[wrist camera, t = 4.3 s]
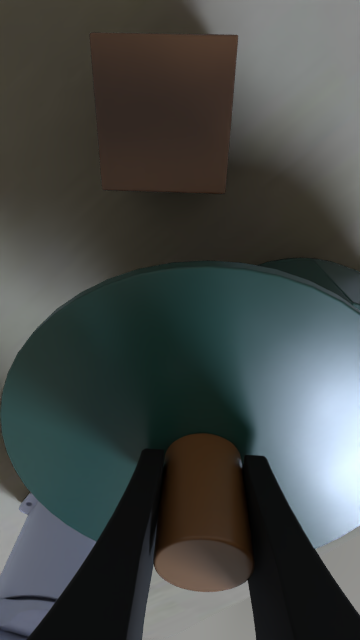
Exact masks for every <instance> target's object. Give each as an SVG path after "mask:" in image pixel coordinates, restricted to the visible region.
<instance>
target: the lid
mask: <svg viewBox="0 0 360 640" xmlns="http://www.w3.org/2000/svg"><path fill="white" fill-rule="evenodd" d="M0 419H1V429H2V436H3V440H4V443H5V447H6V451H7V454H8V456H9V458H10V460H11V462H12V464H13V467H14V469H15V471H16V472H17V474H18V475H19V477H20V478H21V480H22V482H23V483H24V485H25V486H26V487H27V488H28V490H29V491H30V492H31V493H32V494H33V496H34V497H35V498H36V499H37V500H38V501H39V502H40V503H41V504H42V505H43V506H44V507H45V508H46V509H47V510H48V511H50V512H51V513H52V514H53V515H54V516H56V517H57V518H58V519H60V520H61V521H62V522H64V523H65V524H66V525H68V526H69V527H71V528H73V529H74V530H76V531H78V532H79V533H81V534H82V535H84V536H86V537H88V538H90V539H92V540H94V541H96V542H97V540H98V538H99V537H100V535H101V533H102V532H103V530H104V528H105V527H106V525H107V523H108V522H109V520H110V518H111V516H112V515H113V513H114V511H115V509H116V507H117V505H118V503H119V501H120V500H121V498H122V496H123V494H124V492H125V490H126V488H127V486H128V484H129V482H130V479H131V477H132V475H133V473H134V471H135V468H136V466H137V463H138V461H139V458H140V455H141V452H142V450H144V449H145V448H148V449H164V469H163V478H162V487H161V496H160V503H159V512H158V521H157V530H156V539H155V548H154V557H153V562H154V567H155V569H156V571H157V573H158V574H159V575H160V576H161V577H162V578H163V579H164V580H165V581H167V582H169V583H170V584H172V585H175V586H177V587H180V588H183V589H187V590H192V591H200V592H216V591H223V590H228V589H232V588H234V587H237V586H239V585H241V584H243V583H244V582H246V581H247V580H248V579H249V578H250V577H251V575H252V574H253V571H254V567H255V561H254V553H253V546H252V538H251V530H250V523H249V515H248V507H247V500H246V493H245V485H244V477H243V470H242V468H243V463H244V457H245V455H259V456H265V457H266V458H267V460H268V463H269V465H270V467H271V469H272V472H273V474H274V476H275V478H276V480H277V482H278V484H279V486H280V488H281V490H282V492H283V494H284V496H285V498H286V500H287V502H288V504H289V506H290V507H291V509H292V511H293V513H294V515H295V516H296V518H297V520H298V522H299V523H300V525H301V527H302V529H303V530H304V532H305V534H306V536H307V537H308V539H309V541H310V542H311V544H312V545H313V547H314V549H316V548H319V547H321V546H323V545H325V544H328V543H330V542H332V541H334V540H336V539H338V538H340V537H342V536H343V535H345V534H347V533H348V532H350V531H351V530H353V529H355V528H356V527H358V526H359V525H360V310H359V309H357V308H356V307H354V306H353V305H351V304H350V303H349V302H347V301H346V300H344V299H343V298H341V297H340V296H339V295H337V294H335V293H333V292H331V291H329V290H327V289H325V288H323V287H321V286H319V285H317V284H315V283H313V282H311V281H309V280H306V279H303V278H300V277H297V276H294V275H291V274H288V273H286V272H283V271H280V270H277V269H271V268H266V267H261V266H256V265H251V264H246V263H237V262H222V261H191V262H174V263H168V264H162V265H157V266H152V267H146V268H141V269H137V270H134V271H131V272H128V273H125V274H122V275H119V276H116V277H113V278H110V279H107V280H105V281H103V282H101V283H99V284H97V285H95V286H93V287H91V288H89V289H87V290H85V291H83V292H81V293H79V294H78V295H76V296H75V297H74V298H72V299H71V300H69V301H68V302H66V303H65V304H63V305H62V306H60V307H59V308H58V309H56V310H55V311H54V312H53V313H52V314H51V315H50V316H49V317H48V318H47V319H46V320H45V321H44V322H43V323H42V324H41V325H40V326H39V327H38V328H37V329H36V330H35V331H34V332H33V333H32V335H31V336H30V337H29V339H28V340H27V341H26V343H25V344H24V345H23V347H22V348H21V350H20V351H19V352H18V354H17V356H16V358H15V360H14V362H13V364H12V366H11V368H10V370H9V372H8V374H7V378H6V381H5V385H4V388H3V392H2V399H1V410H0Z"/></svg>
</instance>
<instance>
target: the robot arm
mask: <svg viewBox="0 0 360 640" xmlns="http://www.w3.org/2000/svg"><path fill="white" fill-rule="evenodd" d="M163 469H164V449H148V448H145V449H144V450H142V452H141V455H140V458H139V461H138V463H137V466H136V468H135V471H134V473H133V475H132V477H131V479H130V482H129V484H128V486H127V488H126V490H125V492H124V494H123V496H122V498H121V500H120V501H119V503H118V505H117V507H116V509H115V511H114V513H113V515H112V516H111V518H110V520H109V522H108V523H107V525H106V527H105V528H104V530H103V532H102V533H101V535H100V537H99V538H98V540H97V542H96V541H94V540H92V539H90V538H88V537H86V536H84V535H82V534H81V533H79V532H78V531H76V530H74V529H73V528H71V527H69V526H68V525H66V524H65V523H64V522H62V521H61V520H60V519H58V518H57V517H56V516H54V515H53V514H52V513H51V512H50V511H48V510H47V509H46V508H45V507H44V506H43V505H42V504H41V503H40V502H39V501H38V500H37V499H36V498H35V497H34V496H33V494H32V493H31V492H30V494H29V495H28V496H27V497H26V498H25V499H24V501H23V502H22V503H21V505H20V507H19V510H20V511H21V512H23V513H25V514H27V515H28V517H27V519H26V521H25V523H24V525H23V527H22V530H21V532H20V534H19V536H18V538H17V541H16V543H15V545H14V547H13V549H12V551H11V554H10V556H9V558H8V560H7V562H6V565H5V567H4V569H3V571H2V573H1V575H0V640H142V633H143V624H144V617H145V610H146V604H147V598H148V593H149V587H150V581H151V576H152V570H153V564H154V562H153V557H154V548H155V539H156V530H157V521H158V512H159V503H160V496H161V487H162V478H163ZM242 470H243V477H244V485H245V493H246V500H247V507H248V515H249V523H250V530H251V538H252V546H253V553H254V561H255V567H254V571H253V574H252V575H251V577H250V578H249V579H248V584H249V590H250V597H251V603H252V609H253V616H254V623H255V631H256V640H360V615H359V614H358V612H357V611H356V610H355V609H354V607H353V606H352V604H351V603H350V601H349V600H348V598H347V597H346V596H345V594H344V593H343V592H342V590H341V589H340V587H339V586H338V584H337V583H336V581H335V580H334V578H333V577H332V575H331V574H330V572H329V571H328V569H327V568H326V566H325V565H324V563H323V561H322V560H321V558H320V557H319V555H318V553H317V552H316V550H315V549H314V547H313V545H312V544H311V542H310V541H309V539H308V537H307V536H306V534H305V532H304V530H303V529H302V527H301V525H300V523H299V522H298V520H297V518H296V516H295V515H294V513H293V511H292V509H291V507H290V506H289V504H288V502H287V500H286V498H285V496H284V494H283V492H282V490H281V488H280V486H279V484H278V482H277V480H276V478H275V476H274V474H273V472H272V469H271V467H270V465H269V463H268V460H267V458H266V457H265V456H259V455H245V457H244V463H243V468H242Z"/></svg>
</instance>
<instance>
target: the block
mask: <svg viewBox="0 0 360 640" xmlns="http://www.w3.org/2000/svg"><path fill="white" fill-rule="evenodd" d="M237 45H238V35H218V34H153V33H90V46H91V58H92V70H93V83H94V95H95V107H96V120H97V132H98V145H99V157H100V169H101V182H102V190H112V191H144V192H175V193H206V194H225V191H226V179H227V166H228V154H229V142H230V130H231V118H232V106H233V93H234V81H235V69H236V57H237Z"/></svg>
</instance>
